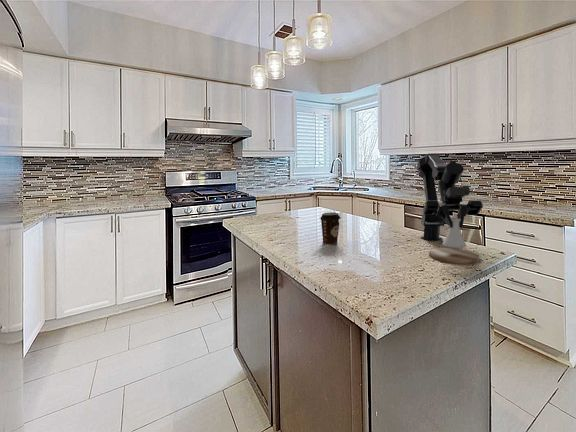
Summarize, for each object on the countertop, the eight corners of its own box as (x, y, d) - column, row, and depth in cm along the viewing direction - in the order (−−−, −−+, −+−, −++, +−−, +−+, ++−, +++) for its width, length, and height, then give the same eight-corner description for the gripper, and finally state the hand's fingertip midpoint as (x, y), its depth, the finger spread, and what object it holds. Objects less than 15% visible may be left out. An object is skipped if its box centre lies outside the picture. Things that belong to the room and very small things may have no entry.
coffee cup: (342, 241, 138) (342, 212, 136) (338, 246, 131) (338, 215, 128) (322, 240, 141) (322, 211, 139) (318, 244, 133) (318, 214, 131)
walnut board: (447, 248, 123) (447, 245, 123) (489, 259, 109) (489, 255, 109) (419, 255, 116) (419, 251, 116) (460, 267, 102) (460, 263, 102)
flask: (470, 247, 109) (472, 219, 108) (453, 249, 108) (454, 220, 106) (455, 243, 116) (456, 216, 115) (438, 245, 115) (439, 217, 113)
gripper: (426, 178, 113) (433, 213, 105) (483, 177, 110) (495, 214, 102) (420, 197, 122) (426, 231, 114) (472, 197, 119) (482, 232, 111)
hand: (456, 227), depth 110 cm, fingers closed on flask, 3 cm apart
